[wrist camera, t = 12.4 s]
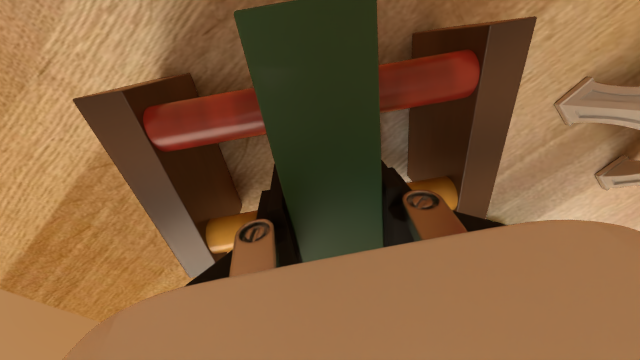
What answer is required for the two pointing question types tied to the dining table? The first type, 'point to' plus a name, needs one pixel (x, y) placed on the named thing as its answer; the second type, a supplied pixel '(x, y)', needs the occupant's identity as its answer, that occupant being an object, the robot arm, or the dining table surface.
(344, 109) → the green bar
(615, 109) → the eiffel tower
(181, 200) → the rod stand
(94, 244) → the dining table surface
